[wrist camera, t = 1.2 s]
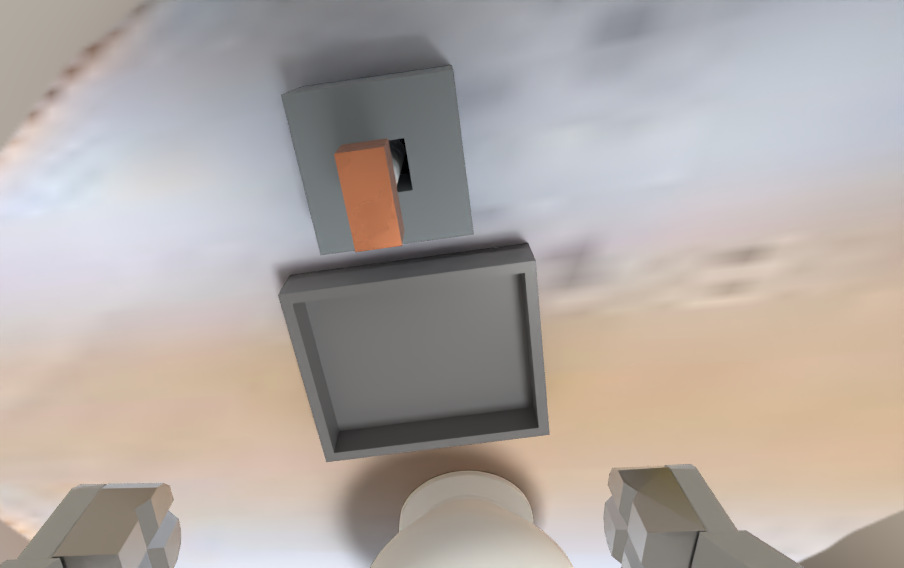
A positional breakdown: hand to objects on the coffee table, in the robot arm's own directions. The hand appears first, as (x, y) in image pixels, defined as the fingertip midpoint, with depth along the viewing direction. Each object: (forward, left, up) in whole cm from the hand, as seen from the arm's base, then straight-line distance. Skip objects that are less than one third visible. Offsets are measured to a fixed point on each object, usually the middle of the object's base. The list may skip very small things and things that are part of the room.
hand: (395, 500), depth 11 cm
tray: (+2, +15, -31) cm, 35 cm away
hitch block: (+2, -1, -31) cm, 31 cm away
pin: (+2, -1, -31) cm, 31 cm away
